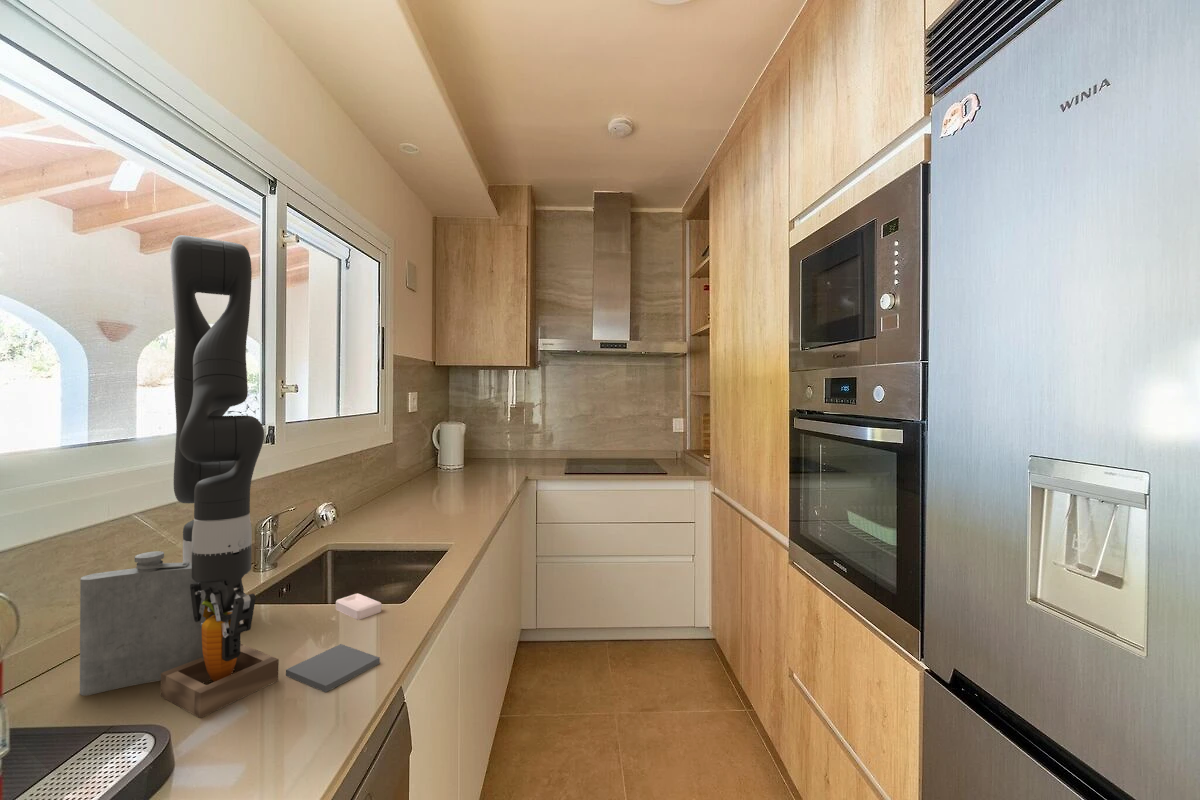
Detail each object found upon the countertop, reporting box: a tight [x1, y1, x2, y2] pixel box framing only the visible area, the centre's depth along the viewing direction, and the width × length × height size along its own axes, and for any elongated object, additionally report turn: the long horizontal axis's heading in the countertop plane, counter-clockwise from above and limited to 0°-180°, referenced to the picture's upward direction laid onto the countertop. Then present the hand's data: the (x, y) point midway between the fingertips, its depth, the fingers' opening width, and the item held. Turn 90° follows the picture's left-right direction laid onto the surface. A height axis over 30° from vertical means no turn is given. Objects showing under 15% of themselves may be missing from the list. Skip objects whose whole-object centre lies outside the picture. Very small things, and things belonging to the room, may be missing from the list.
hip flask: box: [79, 550, 203, 696], centre depth 84 cm, size 16×4×20 cm, turn 117°
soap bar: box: [335, 593, 382, 621], centre depth 111 cm, size 5×9×2 cm, turn 55°
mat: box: [285, 643, 381, 693], centre depth 88 cm, size 10×10×1 cm
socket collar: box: [160, 643, 279, 719], centre depth 81 cm, size 11×11×4 cm
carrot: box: [202, 601, 242, 683], centre depth 81 cm, size 5×5×15 cm
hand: (221, 653), depth 81 cm, fingers closed on carrot, 4 cm apart
